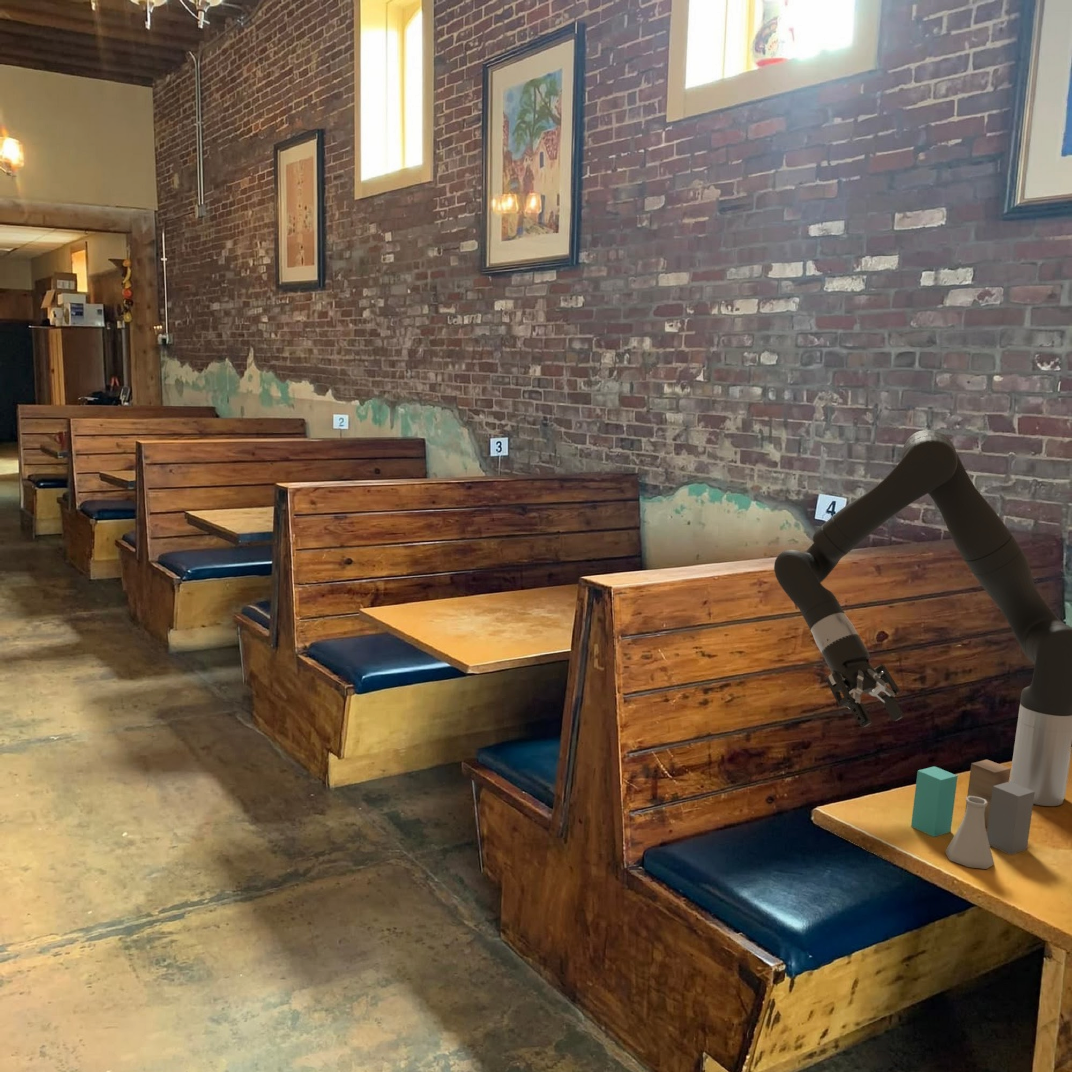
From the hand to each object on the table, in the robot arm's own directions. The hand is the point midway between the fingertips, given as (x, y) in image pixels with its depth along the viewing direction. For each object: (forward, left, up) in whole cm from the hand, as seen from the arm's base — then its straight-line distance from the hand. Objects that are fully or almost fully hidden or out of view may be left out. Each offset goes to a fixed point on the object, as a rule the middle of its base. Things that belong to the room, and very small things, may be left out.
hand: (883, 722), depth 176 cm
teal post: (0, +12, -15) cm, 19 cm away
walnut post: (-12, +14, -15) cm, 24 cm away
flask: (+4, +22, -15) cm, 27 cm away
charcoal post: (-6, +22, -15) cm, 27 cm away
